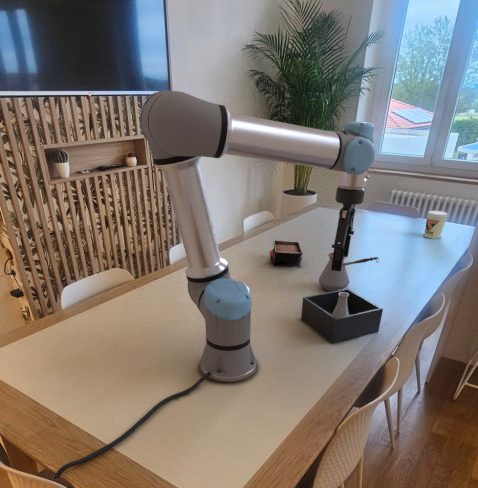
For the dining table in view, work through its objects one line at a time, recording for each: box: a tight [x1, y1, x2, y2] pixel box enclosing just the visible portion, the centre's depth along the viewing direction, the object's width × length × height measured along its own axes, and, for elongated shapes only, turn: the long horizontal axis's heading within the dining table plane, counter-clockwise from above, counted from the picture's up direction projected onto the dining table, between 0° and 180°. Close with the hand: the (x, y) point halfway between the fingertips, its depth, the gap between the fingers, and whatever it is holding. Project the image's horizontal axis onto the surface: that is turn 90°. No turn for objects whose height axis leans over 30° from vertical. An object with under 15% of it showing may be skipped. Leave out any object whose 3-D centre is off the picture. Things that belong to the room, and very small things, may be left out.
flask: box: [332, 292, 349, 318], centre depth 137 cm, size 7×7×10 cm
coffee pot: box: [318, 251, 380, 292], centre depth 160 cm, size 21×12×15 cm, turn 54°
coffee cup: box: [423, 210, 448, 240], centre depth 222 cm, size 9×9×12 cm
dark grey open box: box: [300, 287, 384, 344], centre depth 138 cm, size 18×18×8 cm
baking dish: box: [269, 239, 304, 268], centre depth 188 cm, size 14×18×10 cm
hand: (339, 263), depth 129 cm, fingers open, 13 cm apart
